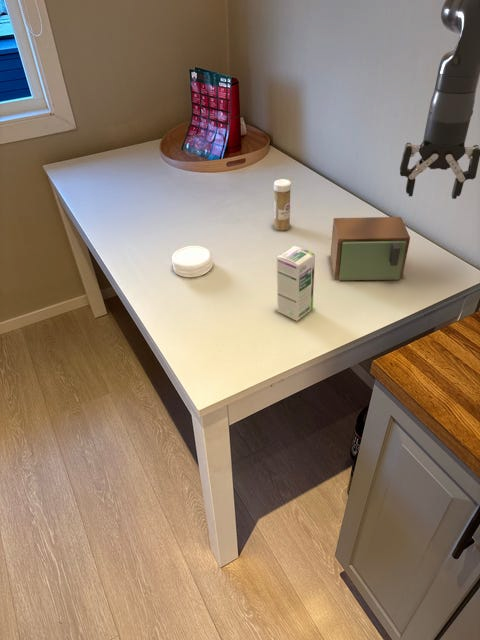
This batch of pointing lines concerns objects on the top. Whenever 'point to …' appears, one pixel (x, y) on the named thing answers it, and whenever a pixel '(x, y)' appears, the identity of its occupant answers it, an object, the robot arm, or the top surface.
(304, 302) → the syrup box
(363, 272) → the sliding door
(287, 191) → the sprinkles bottle
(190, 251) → the white short cylinder
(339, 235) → the cupboard
